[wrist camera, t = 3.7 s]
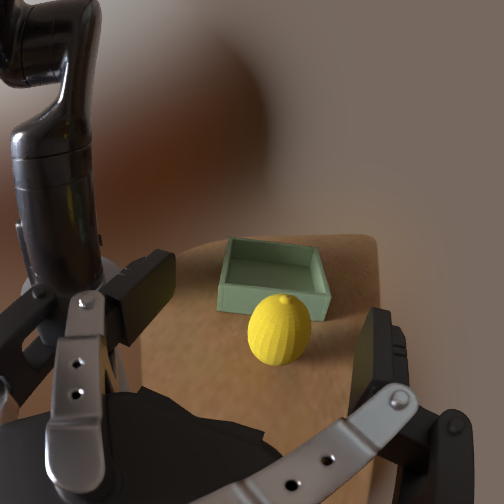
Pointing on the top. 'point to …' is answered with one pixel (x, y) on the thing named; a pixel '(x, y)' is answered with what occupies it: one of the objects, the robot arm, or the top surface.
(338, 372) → the top surface
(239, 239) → the bin
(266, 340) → the lemon
